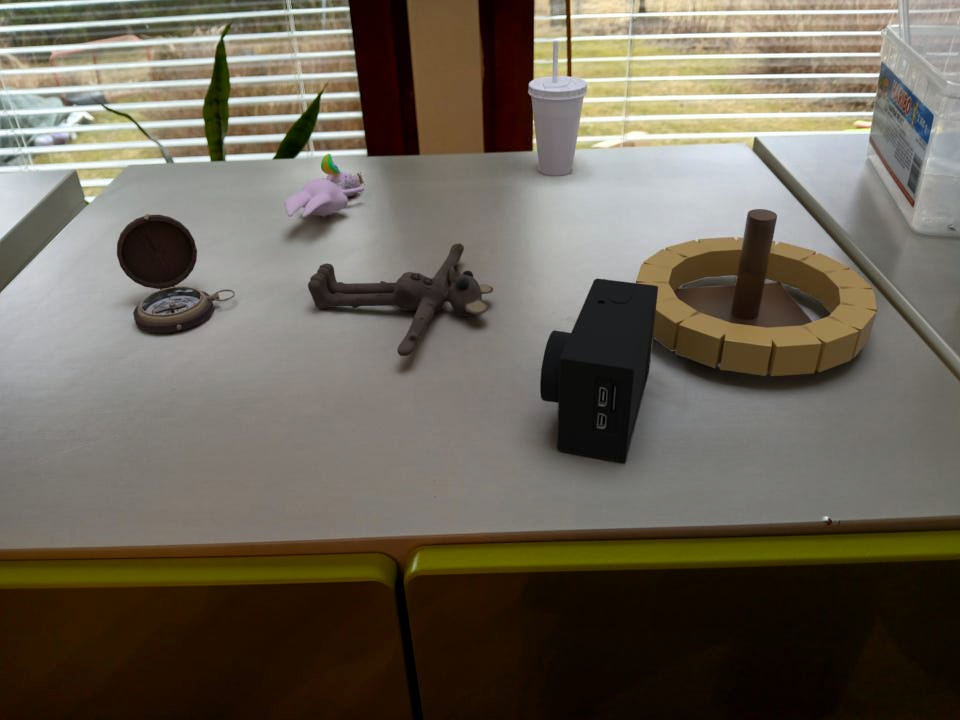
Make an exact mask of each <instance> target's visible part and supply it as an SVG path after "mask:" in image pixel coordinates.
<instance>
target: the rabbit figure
mask: <svg viewBox="0 0 960 720" xmlns="http://www.w3.org/2000/svg"><path fill="white" fill-rule="evenodd" d="M320 169H321V171H322V172H323V173H324V174H325V175H327V176H326V178H323V177H321V178H314V179H312V180H309V181H308V182H307V183H305V184H304V185H303V187H302V188H301V189H300V192H298V193H294V194H292V195H289V196H288V197H287V198H286V199H285V202H284V210H285V214H286V215H287V216H288V217H292V216H294V214H296V213H297V212H299V210H300V209H302V208H303V212H302V215H301V216H302V218H307V217H308V216H310V215H313V216H321V217H322V218H326V217H327V216H332V215H333V214H334V213H335V212H340V211H342V210H343V209H345V207H346V206H347V205H348V203H349V198H348V197H355V196H356V195H357V194H358V193H362V192H364V191H365V187H364V186H365V185H366V184H365V180H364V179H363V175H362V171H361V170H360V171H359V172H356V173H355V175H353V174H351V173H349V172H344V171H341V169H339V167H338V166H337V164H335V163H334V161H333V158H332V154H331V153H327V154H325V155H324V156H323V157H322V160H321V163H320Z"/></svg>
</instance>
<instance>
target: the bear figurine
mask: <svg viewBox="0 0 960 720" xmlns="http://www.w3.org/2000/svg"><path fill="white" fill-rule="evenodd" d="M464 250H465V246H464V245H463V244H462V243H459V242H458V243H454V244H452V246H451V247H450V249H449V253H448V255H447V257H446V259H445V260H444V262H443V263H442V265H441V266H440V268H439V269H438V270H437V272H436V274H435V275H434V276H433V278H432V277H429V276H426V275H424V274H422V273H420V272H413V271H406V272H404V273H402V274H401V276H400V277H398V279H397V280H396V281H395V282H387V281H385V280H384V281H383V280H381V281H380V282H362V283H361V282H359V283H358V282H357V283H354V282H353V283H346V282H343V281H337V278H336V274H335V268H334V266H333V264H331V263H323V264H320V265H319V267H318V269H317V271H316V273H314V274H313V275H311V276H310V279H309V281H308V283H307V288H308V291H309V293H310V295H311V298H312V300H313V303H314V305H315V308H317V309H319V310H322V309H326V308H330V307H335V308H339V307H352V309H357V308H360V307H386V306H387V307H392V306H395V307H397V308H398V309H400V310H404V311H416V312H415V314H414V317H413V319H412V322H411V324H410V326H409V328H408V331H407V333H406V334H405V336H404V337H403V339H402V340H401V342H400V344H398V346H397V354H398V355H399V356H401V357H407V356H409V355H412V354H413V353H414V351H415V349H416V347H417V346H418V344H419V342H420V339H421V337H422V335H423V333H424V332H425V330H426V327H427V326H428V323H429V321H430V320H431V319H432V318H433V316H434V313H435V312H439V311H440V310H442V309H443V308H444V306H445V303H446V302H449V304H450V306H451V307H452V309H453V310H454V311H455V312H456V313H457V314H458V315H461V316H464V317H467V316H472V315H480V314H483V313H486V312H487V311H488V310H489V305H488V304H486V303H485V301H483V296H482V295H487V294H488V295H489V294H492V293H493V292H494V287H493V286H491V285H488V284H479V283H478V281H477V280H476V278H475V277H474V273H473V272H472V271H471V270H465V271H463V272H462V273H461V272H460V270H459V263H460V261H461V258H462V255H463V253H464Z"/></svg>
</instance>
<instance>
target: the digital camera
mask: <svg viewBox="0 0 960 720" xmlns="http://www.w3.org/2000/svg"><path fill="white" fill-rule="evenodd" d="M657 294H658V286H655V285H647V284H638V283H636V282H629V281H621V280H613V279H605V278H595V279H593V281H592V284H591V285H590V288H589V290H588V293H587V295H586V298H585V300H584V303H583V304H582V307H581V309H580V311H579V313H578V316H577V318H576V321H575V323H574V325H573V327H572V330H571V332H567V331H561V330H556V329H555V330H552V331H551V332H550V334H549V336H548V339H547V341H546V345H545V348H544V353H543V358H542V363H541V368H540V369H541V370H540V382H539V384H540V385H539V391H540V398H541V400H542V401H544V402H550V403H554V404H555V403H556V404H558V409H557V436H556V438H557V439H556V449H557V450H558V451H559V452H563V453H569V454H573V455H580V456H585V457H590V458H596V459H601V460H606V461H613V462H616V463H617V462H618V463H622V464H625V463H626V462H627V457H628V454H629V451H630V446H631V443H632V438H633V435H634V431H635V428H636V424H637V420H638V417H639V411H640V408H641V404H642V401H643V396H644V392H645V388H646V385H647V381H648V377H649V374H650V366H651V358H652V348H653V340H654V338H653V331H654V322H655V313H656V304H657Z"/></svg>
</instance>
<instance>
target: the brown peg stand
mask: <svg viewBox="0 0 960 720" xmlns="http://www.w3.org/2000/svg"><path fill="white" fill-rule="evenodd" d="M777 220H778V214H777V213H776V212H774V211H772V210H770V209H766V208H765V209H764V208H754V209H751V210H748V212H747V215H746V219H745V224H744V225H745V226H744V231H743V237H742V238H743V243H742V249H741V255H740V261H739V267H738V273H737V276H736V279H735V284H727V285H711V286H697V287H694V286H693V287H679V288H678V289H677V290H676V291H674V293H675V295H676V296H677V298H678V299H679V300H681V301H682V302H684V303H686V304H687V305H689V306H690V307H692V308H693V309H695V310H696V311H698V312H700V313H703V314H706V315H709V316H712V317H715V318H718V319H721V320H724V321H727V322H730V323H735V324H742V325H750V326H758V327H765V328H771V327H786V326H801V325H805V324H808V323H811V322H813V320H812V319H811V318H810V316H809V315H808V314H807V313H806V312H805V311H804V309H803V308H802V307H801V306H800V304H799V303H798V302H797V301H796V300H795V299H794V298H793V296H792V295H791V294H790V292H788V290H787V289H786V288H785V287H784V285H783V284H781V283H778V282H766V279H765V278H766V273H767V268H768V262H769V257H770V252H771V247H772V241H774V235H775V231H776V224H777Z"/></svg>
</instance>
